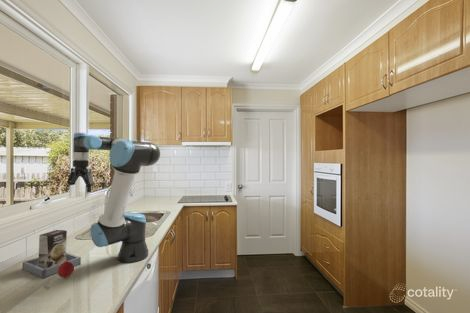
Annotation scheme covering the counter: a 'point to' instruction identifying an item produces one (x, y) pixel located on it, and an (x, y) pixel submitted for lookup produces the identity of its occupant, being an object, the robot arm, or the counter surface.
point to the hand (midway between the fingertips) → (80, 197)
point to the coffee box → (52, 248)
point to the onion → (65, 269)
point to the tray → (33, 267)
